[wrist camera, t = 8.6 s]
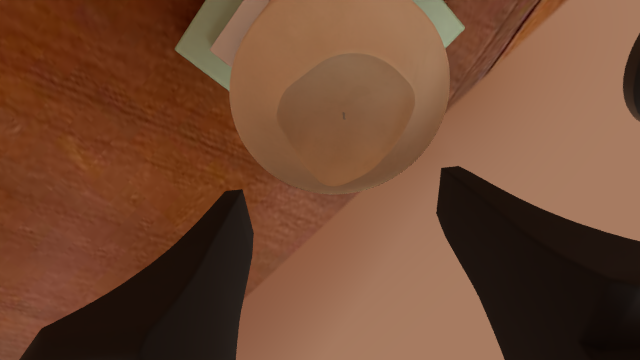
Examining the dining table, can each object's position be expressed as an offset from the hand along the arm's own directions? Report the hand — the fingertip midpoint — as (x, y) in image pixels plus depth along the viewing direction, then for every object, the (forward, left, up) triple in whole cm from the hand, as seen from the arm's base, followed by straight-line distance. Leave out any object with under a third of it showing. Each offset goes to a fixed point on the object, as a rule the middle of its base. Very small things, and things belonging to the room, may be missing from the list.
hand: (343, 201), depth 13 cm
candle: (+4, 0, -7) cm, 8 cm away
